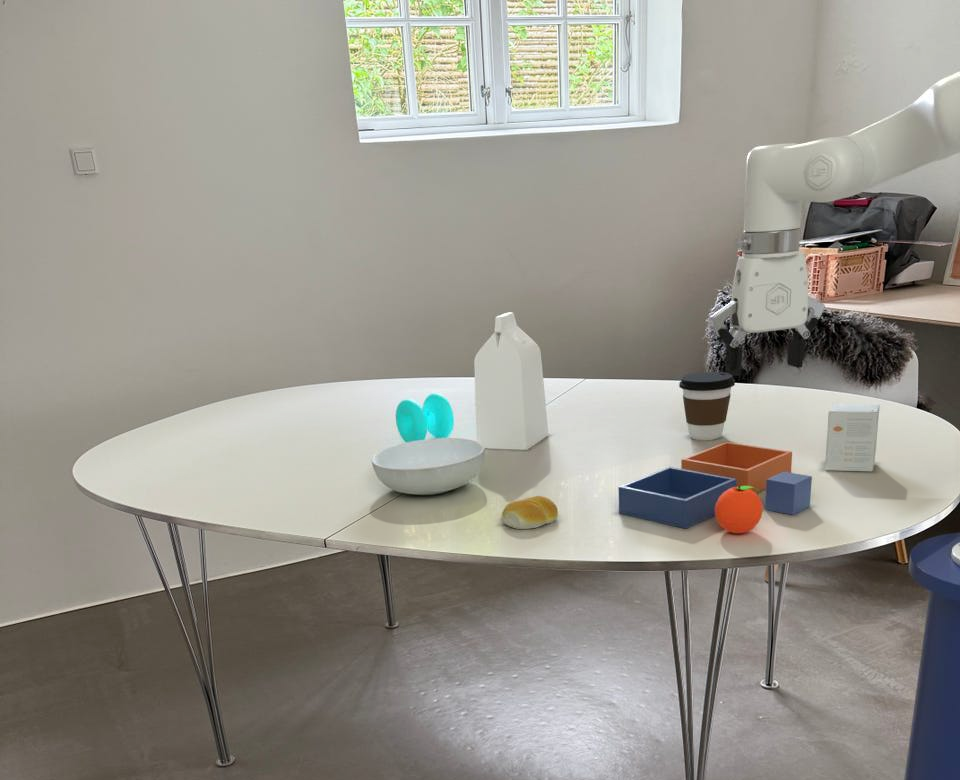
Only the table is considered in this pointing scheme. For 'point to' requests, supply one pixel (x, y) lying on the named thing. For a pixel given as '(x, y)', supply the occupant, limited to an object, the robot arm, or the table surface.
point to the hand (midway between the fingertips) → (764, 370)
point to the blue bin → (674, 496)
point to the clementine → (739, 509)
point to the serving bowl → (429, 465)
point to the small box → (852, 437)
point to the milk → (509, 389)
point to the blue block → (788, 493)
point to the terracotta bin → (741, 463)
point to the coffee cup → (706, 403)
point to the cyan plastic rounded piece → (424, 418)
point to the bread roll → (530, 513)
